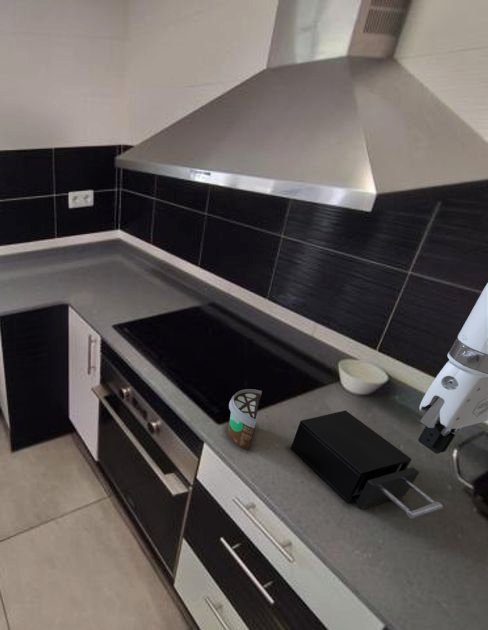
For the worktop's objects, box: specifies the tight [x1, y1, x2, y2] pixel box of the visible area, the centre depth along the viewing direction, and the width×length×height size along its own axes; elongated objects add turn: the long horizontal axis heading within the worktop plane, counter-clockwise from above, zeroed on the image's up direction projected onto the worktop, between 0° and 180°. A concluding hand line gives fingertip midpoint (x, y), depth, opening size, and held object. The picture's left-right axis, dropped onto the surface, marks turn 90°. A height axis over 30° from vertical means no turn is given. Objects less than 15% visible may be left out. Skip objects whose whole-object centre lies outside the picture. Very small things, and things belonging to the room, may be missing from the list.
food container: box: [227, 388, 263, 451], centre depth 90 cm, size 12×6×10 cm, turn 150°
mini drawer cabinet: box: [290, 410, 412, 504], centre depth 81 cm, size 15×13×9 cm
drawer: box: [353, 464, 444, 520], centre depth 76 cm, size 20×11×7 cm, turn 15°
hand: (430, 446), depth 65 cm, fingers closed
